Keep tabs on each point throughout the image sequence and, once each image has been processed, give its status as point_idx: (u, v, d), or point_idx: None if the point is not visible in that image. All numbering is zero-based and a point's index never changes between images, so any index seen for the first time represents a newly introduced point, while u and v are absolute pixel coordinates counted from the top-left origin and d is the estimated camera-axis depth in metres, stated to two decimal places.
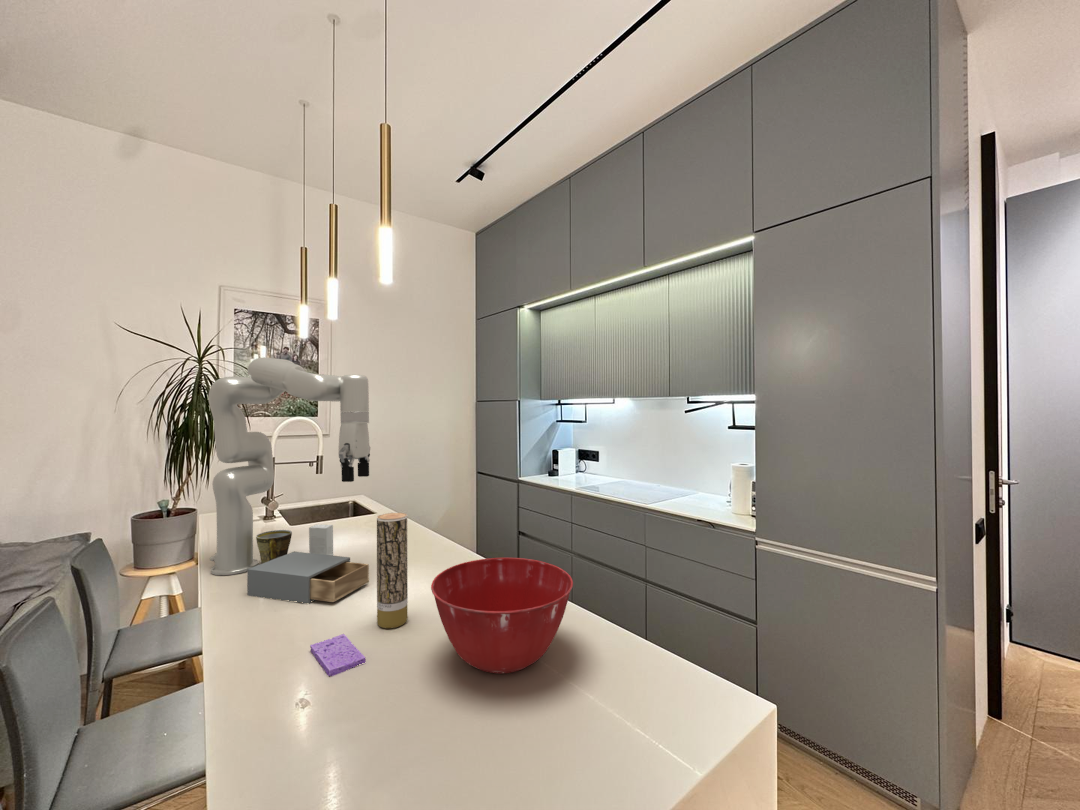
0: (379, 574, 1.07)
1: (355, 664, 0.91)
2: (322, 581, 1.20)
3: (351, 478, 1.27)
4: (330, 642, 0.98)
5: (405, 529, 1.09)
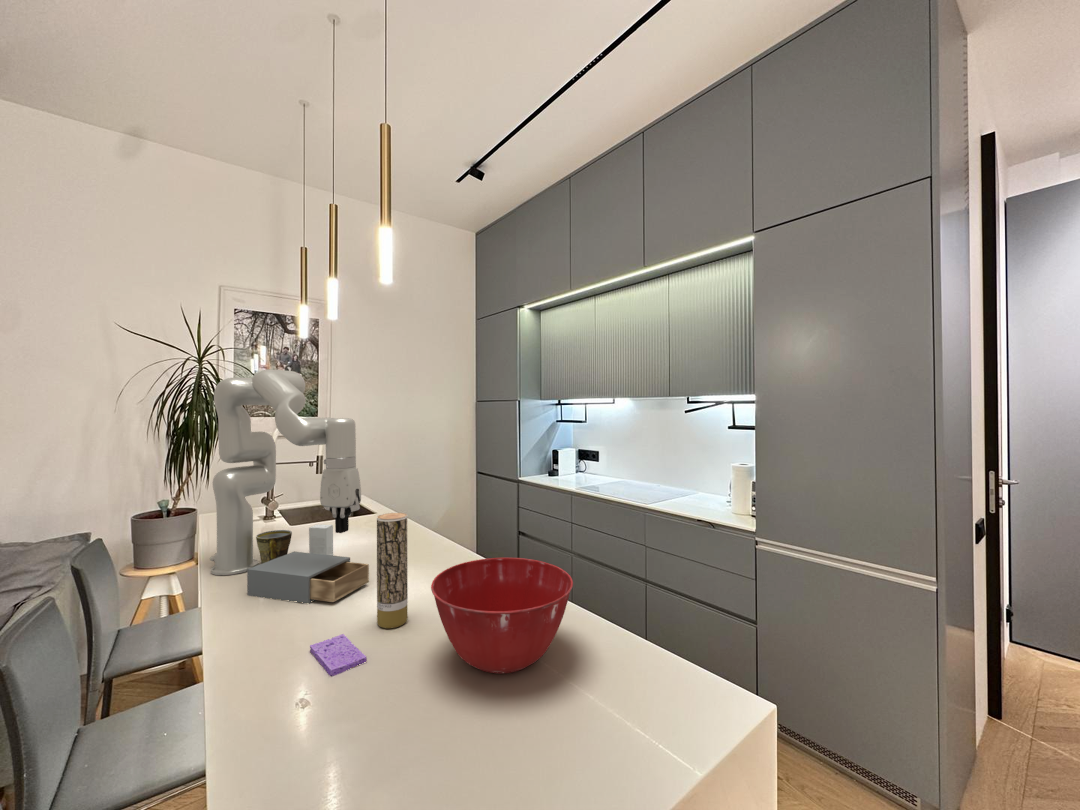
0: (379, 574, 1.07)
1: (356, 664, 0.91)
2: (322, 581, 1.20)
3: None
4: (330, 642, 0.98)
5: (405, 529, 1.09)
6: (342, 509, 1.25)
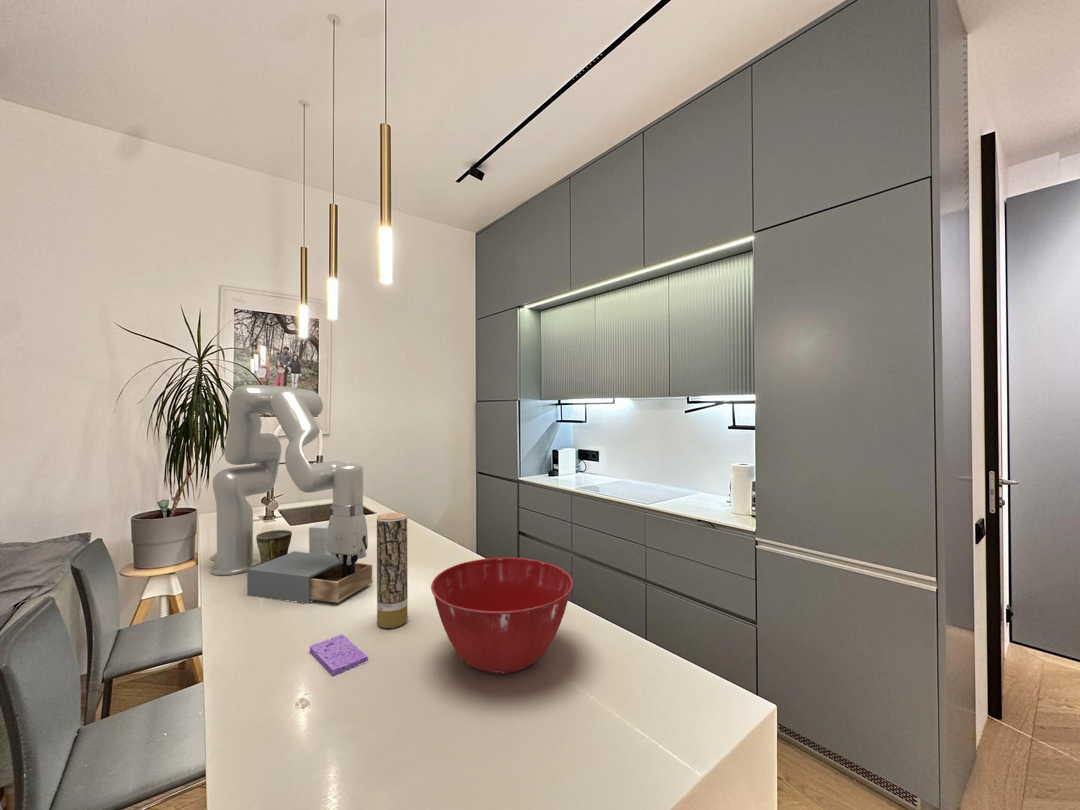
0: (379, 574, 1.07)
1: (358, 663, 0.91)
2: (326, 581, 1.19)
3: None
4: (329, 642, 0.98)
5: (405, 529, 1.09)
6: (349, 556, 1.24)
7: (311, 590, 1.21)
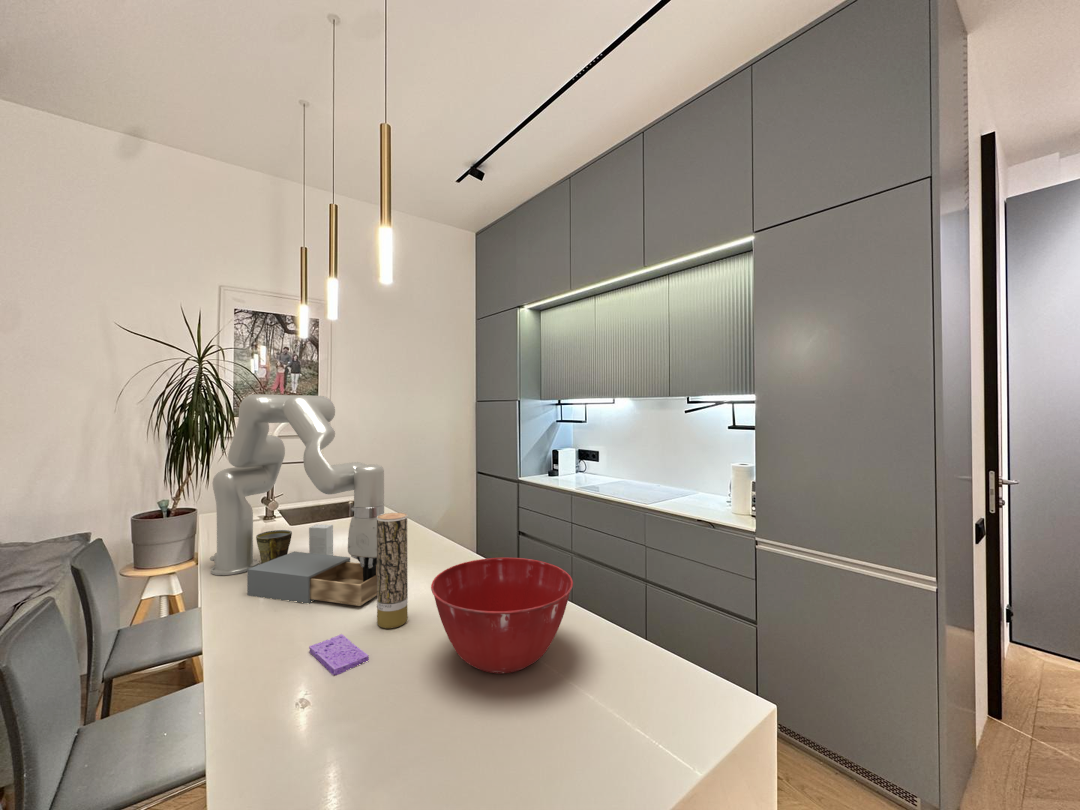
0: (379, 574, 1.07)
1: (359, 662, 0.91)
2: (348, 584, 1.17)
3: None
4: (329, 642, 0.98)
5: (405, 529, 1.09)
6: (370, 559, 1.22)
7: (333, 593, 1.19)
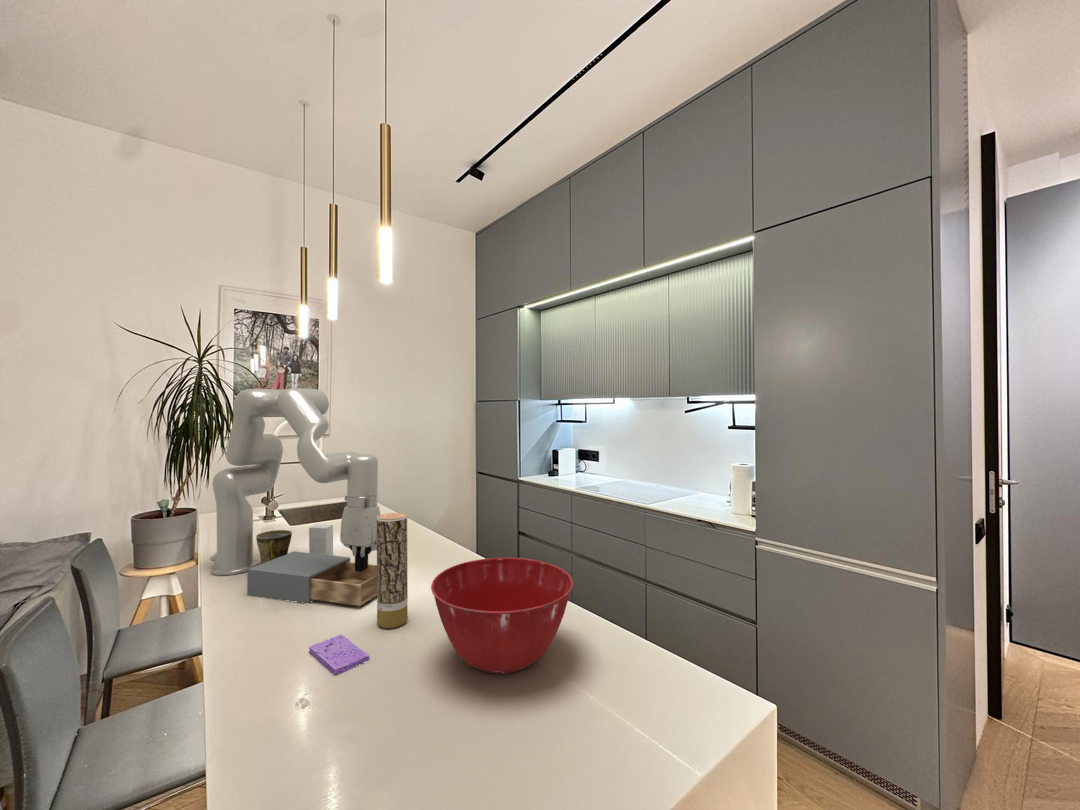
0: (379, 574, 1.07)
1: (359, 662, 0.92)
2: (348, 584, 1.17)
3: None
4: (329, 642, 0.98)
5: (405, 529, 1.09)
6: (362, 548, 1.23)
7: (333, 593, 1.19)
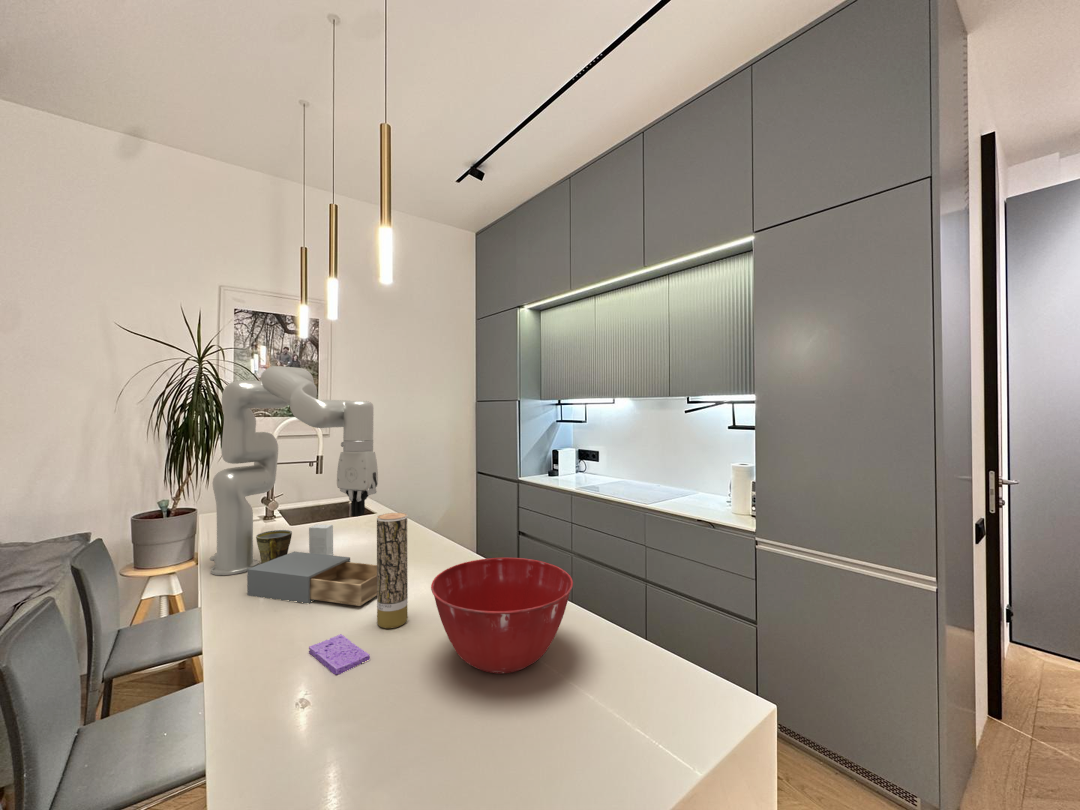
0: (379, 574, 1.07)
1: (360, 662, 0.92)
2: (348, 584, 1.17)
3: None
4: (329, 642, 0.98)
5: (405, 529, 1.09)
6: (359, 492, 1.24)
7: (333, 593, 1.19)
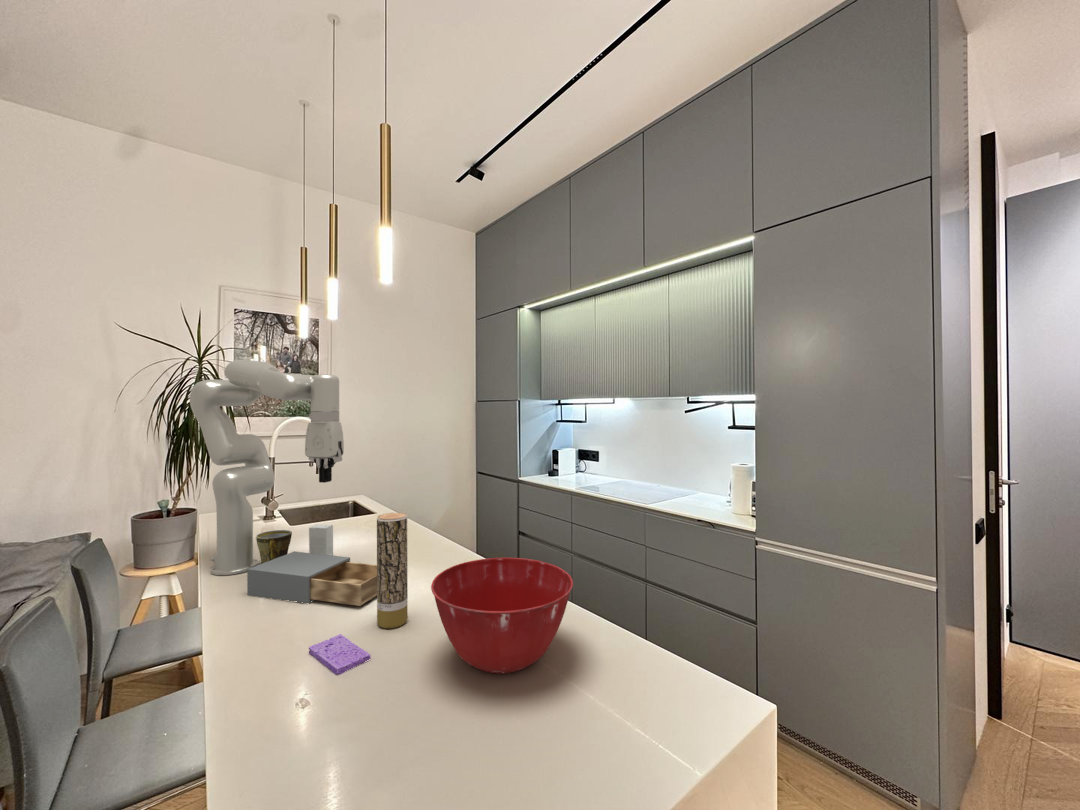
0: (379, 574, 1.07)
1: (361, 661, 0.92)
2: (348, 584, 1.17)
3: None
4: (329, 643, 0.98)
5: (405, 529, 1.09)
6: (325, 460, 1.32)
7: (333, 593, 1.19)
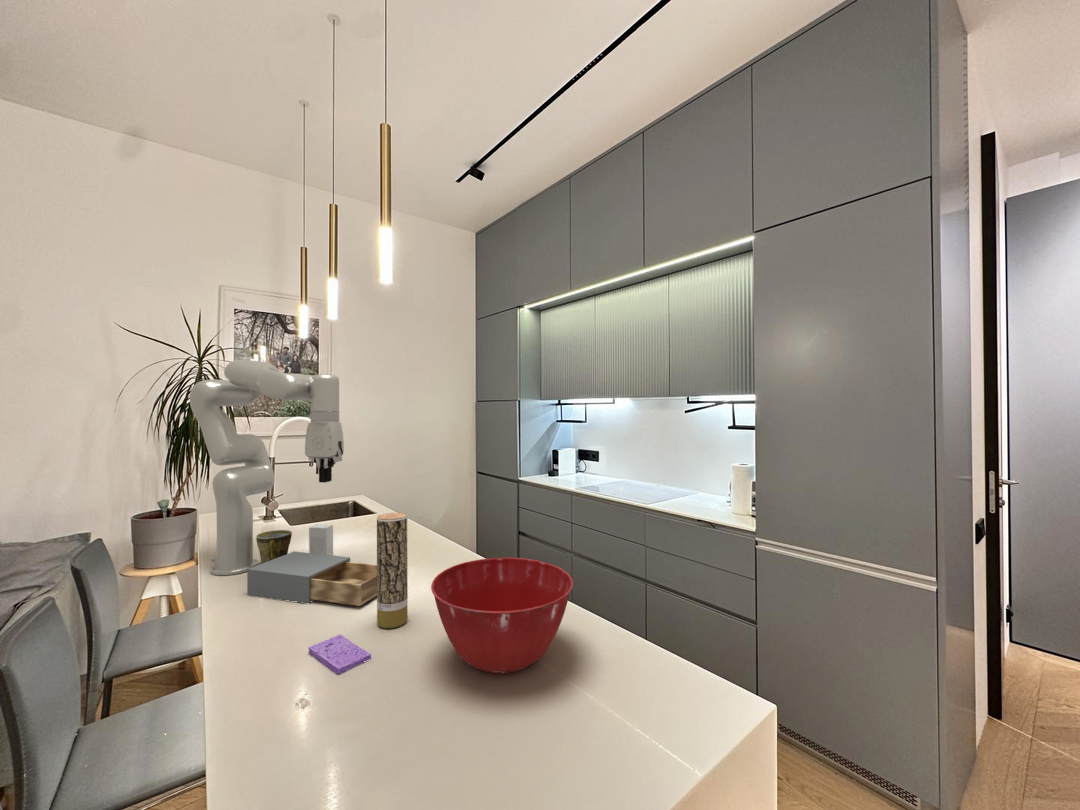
0: (379, 574, 1.07)
1: (361, 661, 0.92)
2: (348, 584, 1.17)
3: None
4: (329, 643, 0.98)
5: (405, 529, 1.09)
6: (325, 460, 1.32)
7: (333, 593, 1.19)
